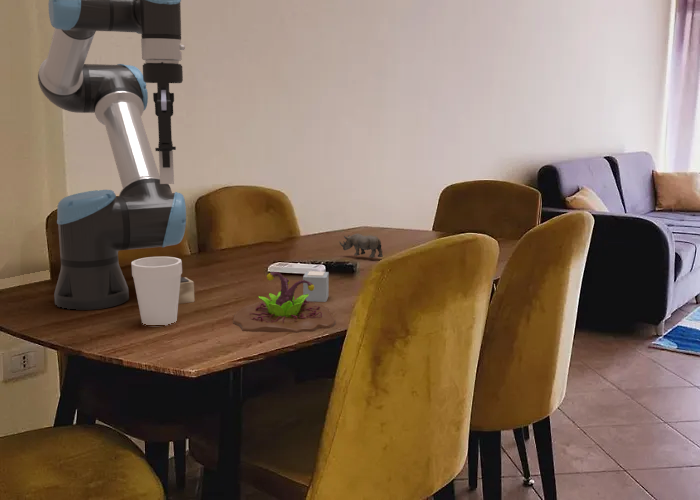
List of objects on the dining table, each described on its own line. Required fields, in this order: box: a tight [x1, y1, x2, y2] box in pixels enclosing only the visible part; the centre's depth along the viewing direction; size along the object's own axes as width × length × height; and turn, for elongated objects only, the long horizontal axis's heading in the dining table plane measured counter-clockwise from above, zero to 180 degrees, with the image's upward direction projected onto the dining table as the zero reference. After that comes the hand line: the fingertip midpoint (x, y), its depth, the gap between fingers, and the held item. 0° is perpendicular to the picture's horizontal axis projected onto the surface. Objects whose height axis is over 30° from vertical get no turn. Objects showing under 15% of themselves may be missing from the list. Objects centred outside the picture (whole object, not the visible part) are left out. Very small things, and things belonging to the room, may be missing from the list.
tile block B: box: [302, 270, 330, 303], centre depth 167 cm, size 5×5×6 cm
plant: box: [232, 271, 337, 334], centre depth 150 cm, size 20×20×11 cm
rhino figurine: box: [338, 233, 384, 259], centre depth 215 cm, size 4×14×6 cm, turn 58°
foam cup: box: [131, 256, 183, 326], centre depth 147 cm, size 10×9×13 cm
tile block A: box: [178, 276, 195, 305], centre depth 165 cm, size 5×5×5 cm
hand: (167, 183), depth 153 cm, fingers closed
